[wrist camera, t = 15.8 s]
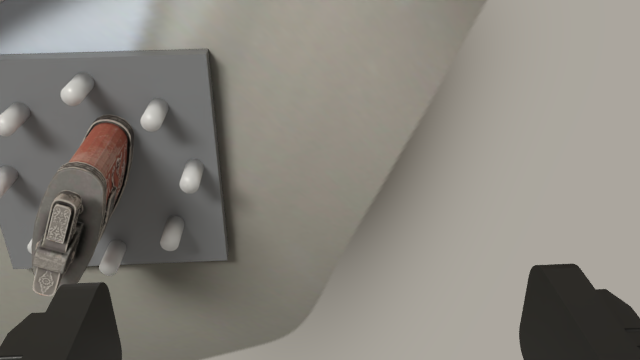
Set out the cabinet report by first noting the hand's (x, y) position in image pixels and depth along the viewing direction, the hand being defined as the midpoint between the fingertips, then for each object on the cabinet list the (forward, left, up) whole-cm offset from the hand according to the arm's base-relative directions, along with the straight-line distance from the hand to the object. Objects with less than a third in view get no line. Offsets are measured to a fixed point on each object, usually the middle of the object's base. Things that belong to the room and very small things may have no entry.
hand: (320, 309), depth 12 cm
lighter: (+10, -13, -27) cm, 32 cm away
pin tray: (+10, -13, -28) cm, 33 cm away
